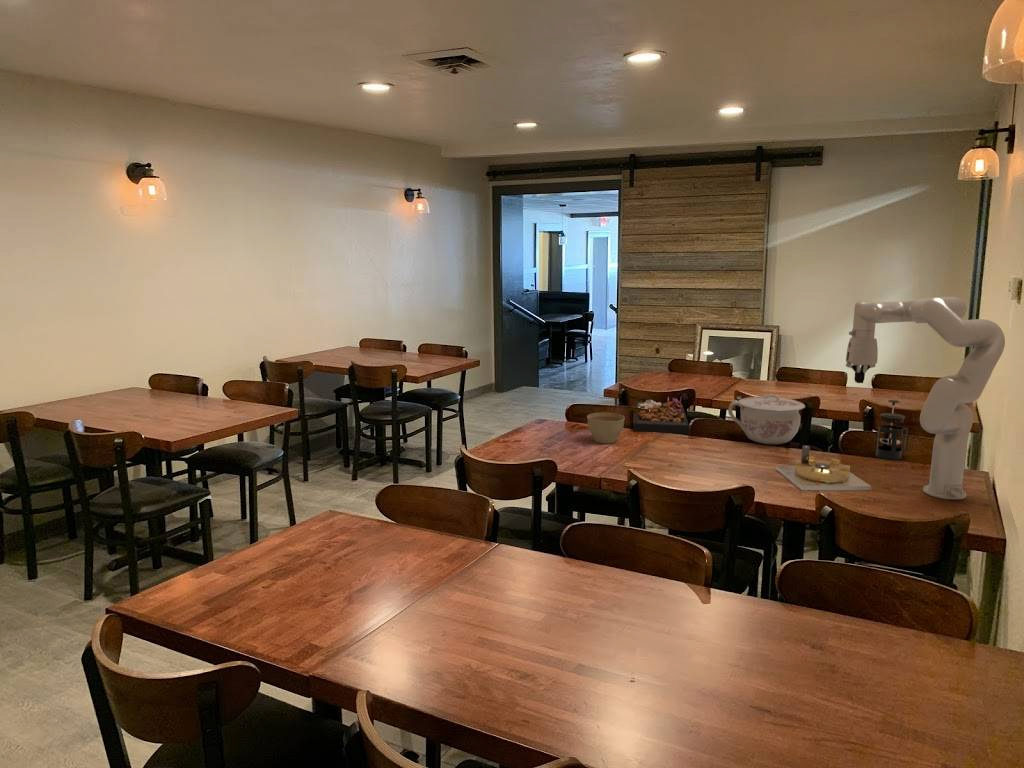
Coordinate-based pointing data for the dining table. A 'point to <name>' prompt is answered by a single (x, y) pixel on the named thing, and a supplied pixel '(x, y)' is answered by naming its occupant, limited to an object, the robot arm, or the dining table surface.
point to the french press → (892, 451)
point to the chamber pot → (768, 418)
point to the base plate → (806, 484)
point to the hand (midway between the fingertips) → (859, 382)
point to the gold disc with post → (821, 468)
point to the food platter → (661, 417)
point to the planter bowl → (605, 426)
